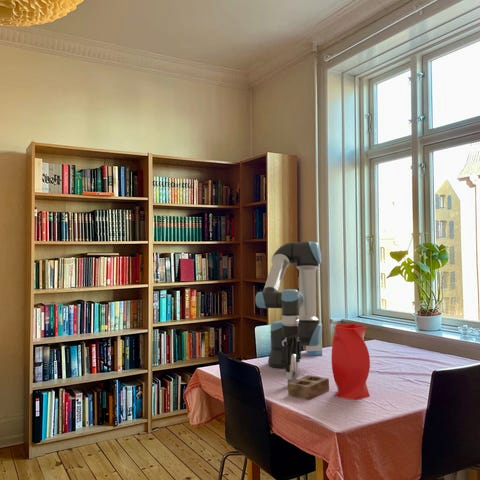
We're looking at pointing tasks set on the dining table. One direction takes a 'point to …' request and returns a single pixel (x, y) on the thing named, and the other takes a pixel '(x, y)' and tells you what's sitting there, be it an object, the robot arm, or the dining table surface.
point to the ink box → (314, 349)
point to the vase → (350, 361)
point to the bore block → (308, 387)
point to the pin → (293, 367)
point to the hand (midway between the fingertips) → (292, 377)
